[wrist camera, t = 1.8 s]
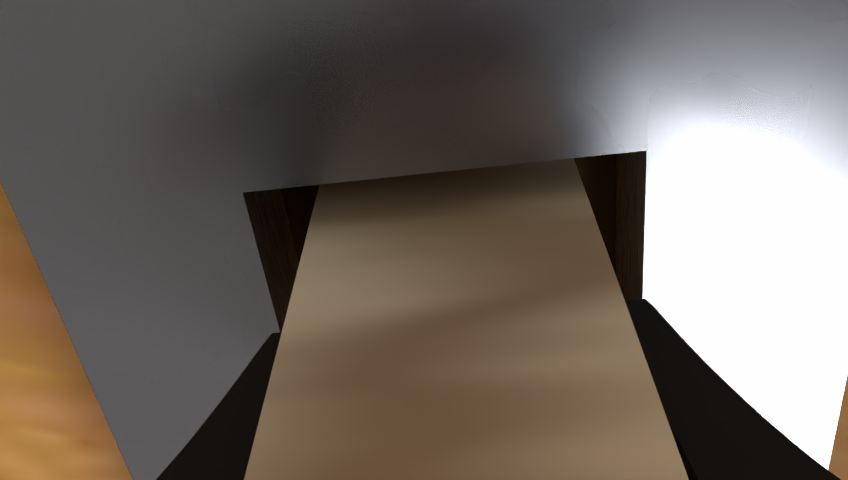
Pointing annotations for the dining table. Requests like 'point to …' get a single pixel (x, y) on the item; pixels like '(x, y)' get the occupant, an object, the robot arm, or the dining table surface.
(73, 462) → the dining table surface
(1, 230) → the dining table surface
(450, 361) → the birch peg
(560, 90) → the hole plate
